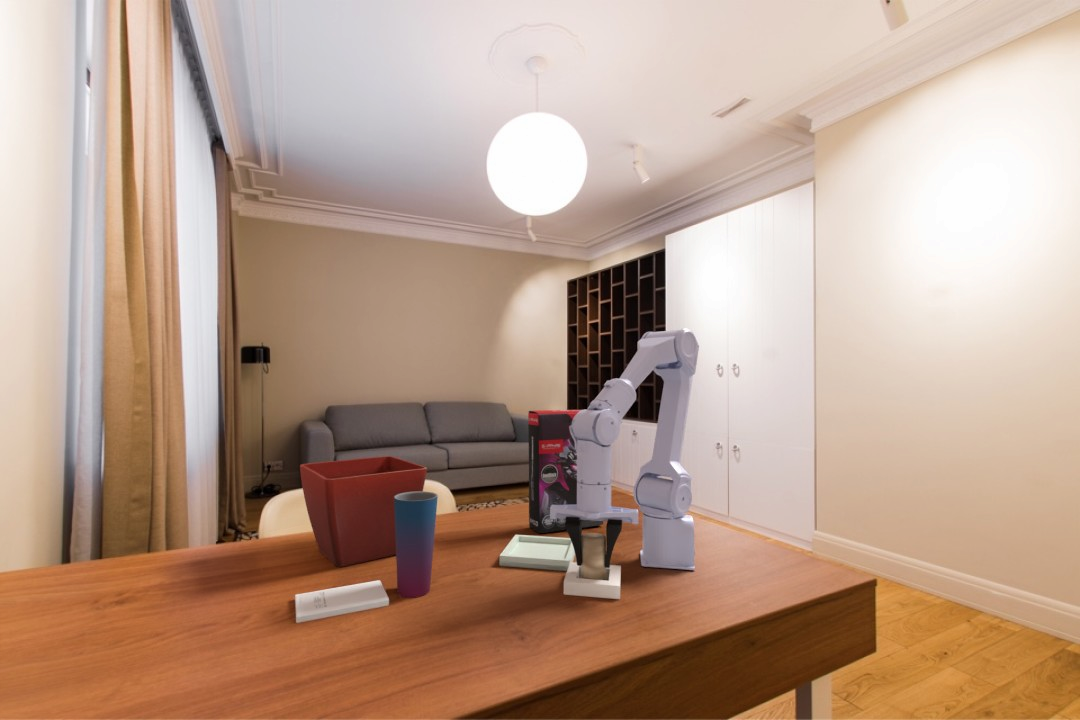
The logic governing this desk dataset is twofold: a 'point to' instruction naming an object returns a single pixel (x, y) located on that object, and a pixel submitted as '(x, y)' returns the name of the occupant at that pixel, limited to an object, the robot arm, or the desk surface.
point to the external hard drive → (340, 600)
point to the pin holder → (593, 583)
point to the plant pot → (357, 505)
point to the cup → (414, 541)
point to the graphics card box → (552, 468)
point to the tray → (538, 552)
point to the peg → (593, 556)
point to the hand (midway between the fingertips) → (593, 564)
